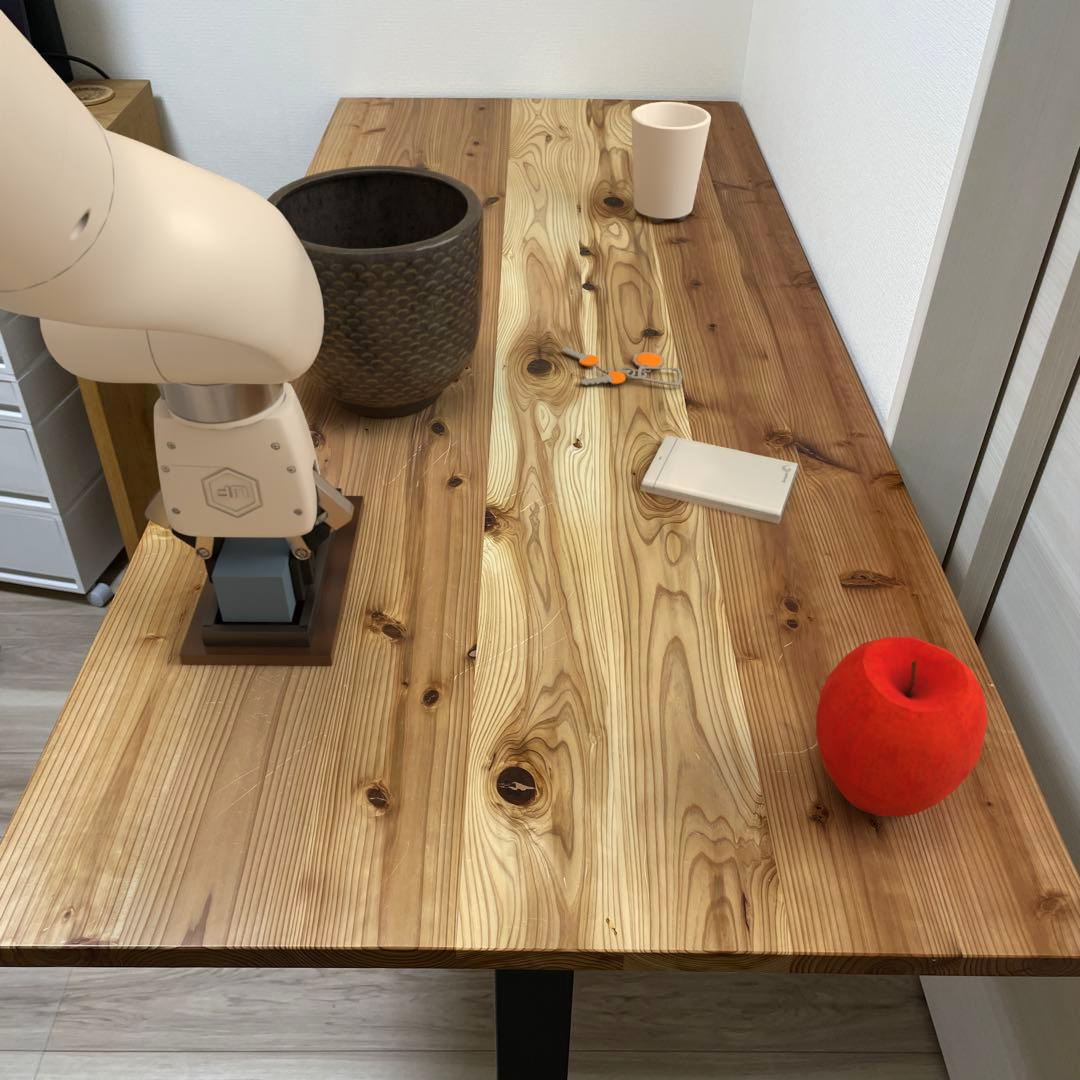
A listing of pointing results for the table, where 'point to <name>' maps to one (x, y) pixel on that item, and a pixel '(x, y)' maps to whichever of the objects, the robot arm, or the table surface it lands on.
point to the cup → (667, 158)
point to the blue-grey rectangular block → (254, 580)
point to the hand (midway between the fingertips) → (265, 585)
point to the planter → (390, 281)
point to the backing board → (282, 641)
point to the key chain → (625, 368)
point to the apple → (900, 725)
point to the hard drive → (721, 478)
